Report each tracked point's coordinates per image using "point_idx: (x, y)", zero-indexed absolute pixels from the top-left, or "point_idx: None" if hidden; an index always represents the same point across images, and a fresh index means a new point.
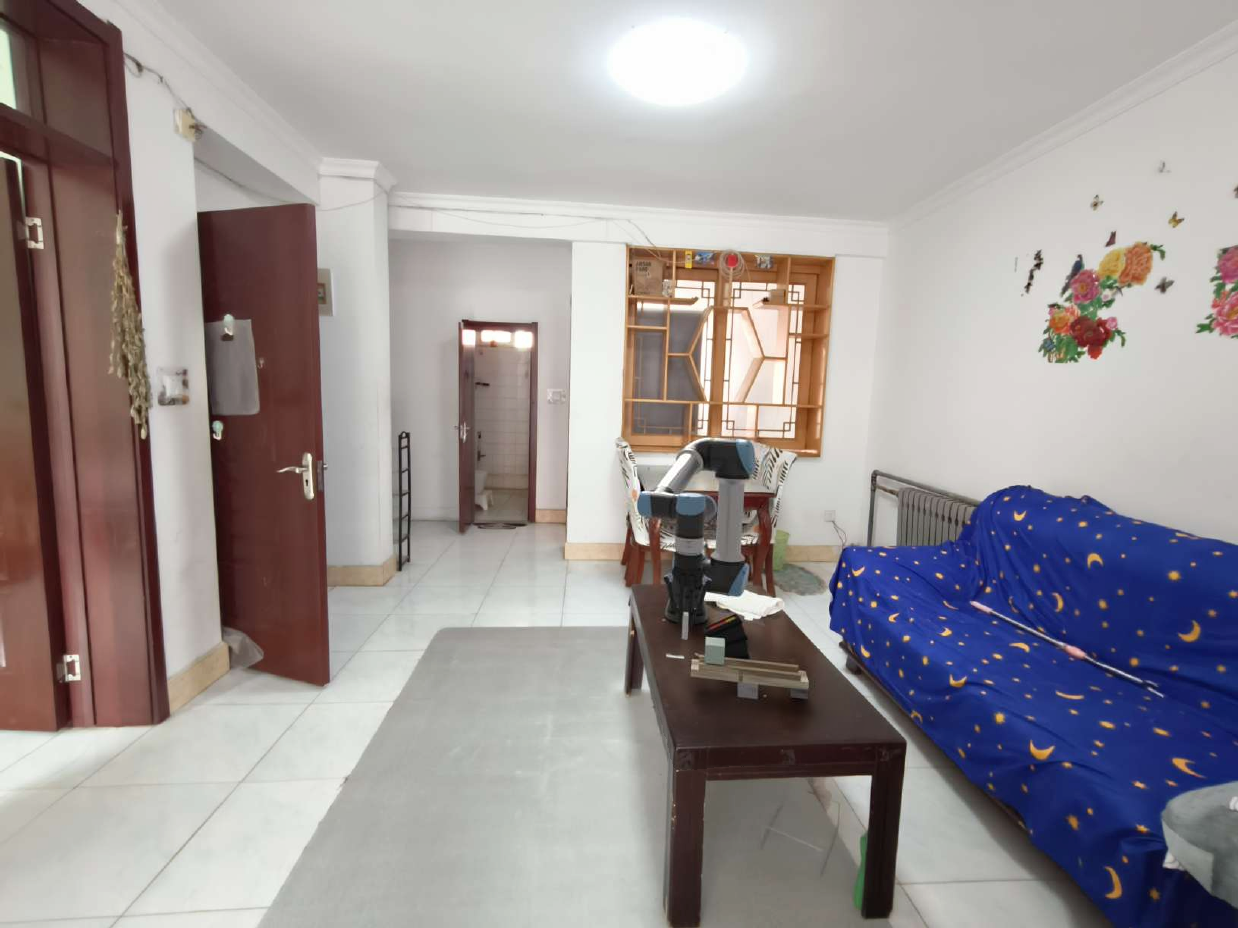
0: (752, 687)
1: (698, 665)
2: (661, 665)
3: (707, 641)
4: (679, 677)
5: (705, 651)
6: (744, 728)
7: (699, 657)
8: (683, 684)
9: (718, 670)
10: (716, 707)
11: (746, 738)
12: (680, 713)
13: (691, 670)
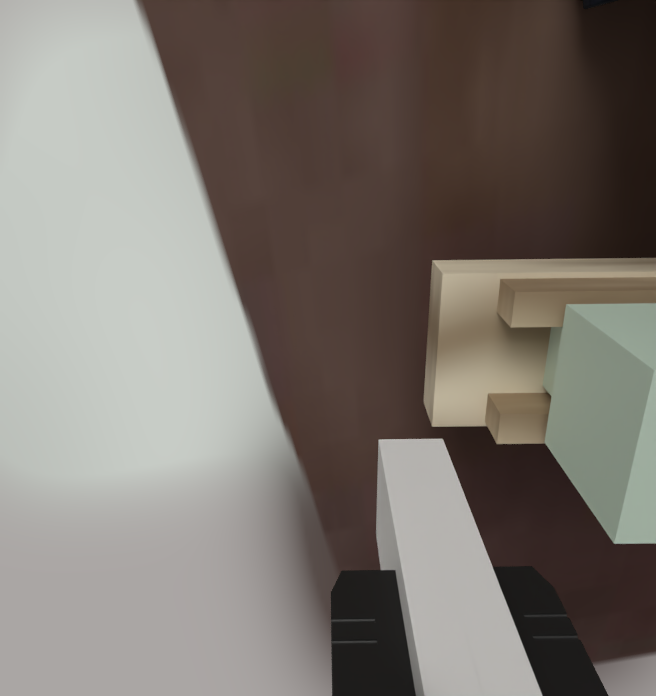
0: None
1: (487, 362)
2: (201, 87)
3: (648, 476)
4: (342, 230)
5: (586, 500)
6: (632, 584)
7: (509, 322)
8: (371, 307)
9: None
10: (536, 475)
11: (624, 633)
12: (369, 548)
13: (434, 421)
